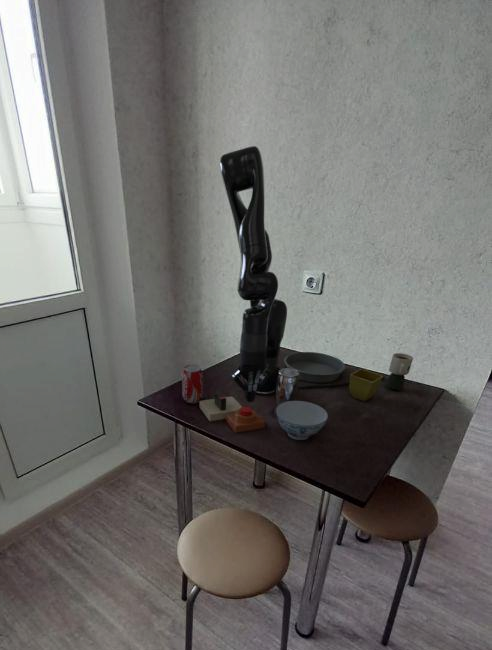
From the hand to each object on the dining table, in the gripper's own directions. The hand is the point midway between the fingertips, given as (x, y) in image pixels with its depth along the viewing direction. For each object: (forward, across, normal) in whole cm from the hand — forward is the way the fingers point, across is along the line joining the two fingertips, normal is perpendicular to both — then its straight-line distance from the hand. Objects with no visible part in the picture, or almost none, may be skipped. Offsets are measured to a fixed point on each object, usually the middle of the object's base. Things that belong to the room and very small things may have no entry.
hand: (249, 400), depth 123 cm
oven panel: (+8, +5, -10) cm, 14 cm away
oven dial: (+6, +6, -10) cm, 12 cm away
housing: (+8, +1, 0) cm, 8 cm away
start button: (+5, +1, 0) cm, 5 cm away
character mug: (+9, -66, -6) cm, 67 cm away
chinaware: (+9, -12, +11) cm, 18 cm away
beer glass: (+9, -14, -2) cm, 17 cm away
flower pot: (+9, -48, -3) cm, 49 cm away
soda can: (+8, +11, -22) cm, 26 cm away
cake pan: (+9, -45, -29) cm, 54 cm away
